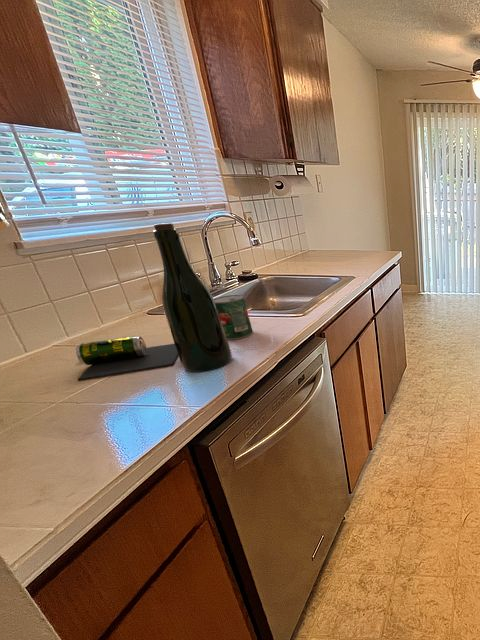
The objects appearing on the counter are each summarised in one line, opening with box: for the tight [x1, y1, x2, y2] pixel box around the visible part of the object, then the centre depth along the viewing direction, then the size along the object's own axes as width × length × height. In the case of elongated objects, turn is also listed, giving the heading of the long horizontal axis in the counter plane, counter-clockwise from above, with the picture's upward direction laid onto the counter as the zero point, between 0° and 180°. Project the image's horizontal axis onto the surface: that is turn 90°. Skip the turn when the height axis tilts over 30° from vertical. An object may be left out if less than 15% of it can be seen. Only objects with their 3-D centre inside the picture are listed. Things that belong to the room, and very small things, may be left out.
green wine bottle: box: [153, 222, 233, 373], centre depth 91 cm, size 10×10×33 cm
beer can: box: [75, 335, 147, 366], centre depth 99 cm, size 5×5×12 cm
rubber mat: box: [77, 343, 179, 382], centre depth 101 cm, size 18×16×1 cm
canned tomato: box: [213, 294, 254, 341], centre depth 114 cm, size 8×8×11 cm
